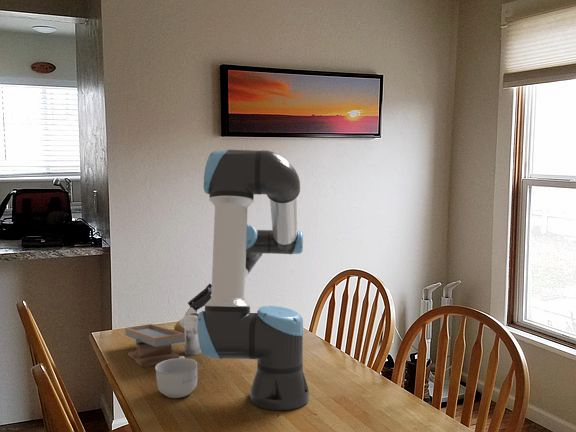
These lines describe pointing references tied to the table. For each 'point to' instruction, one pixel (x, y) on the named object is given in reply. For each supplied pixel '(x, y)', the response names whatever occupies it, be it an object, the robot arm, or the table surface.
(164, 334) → the rectangular tray
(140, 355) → the fulcrum
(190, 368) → the teacup
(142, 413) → the table surface
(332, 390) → the table surface
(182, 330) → the bread roll
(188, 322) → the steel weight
